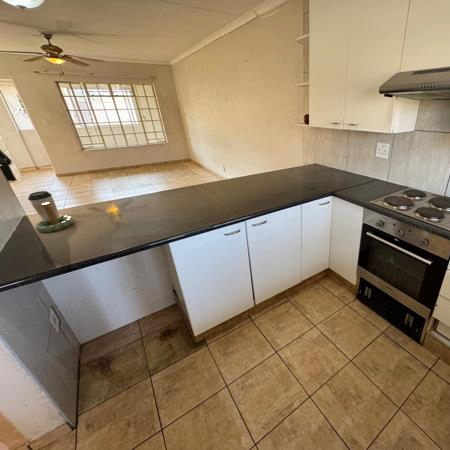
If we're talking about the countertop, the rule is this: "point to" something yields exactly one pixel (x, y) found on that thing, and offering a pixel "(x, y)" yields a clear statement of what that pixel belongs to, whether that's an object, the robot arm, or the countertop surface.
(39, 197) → the coffee cup
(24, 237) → the countertop surface
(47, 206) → the stand
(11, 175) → the robot arm
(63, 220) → the hang ring
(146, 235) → the countertop surface
